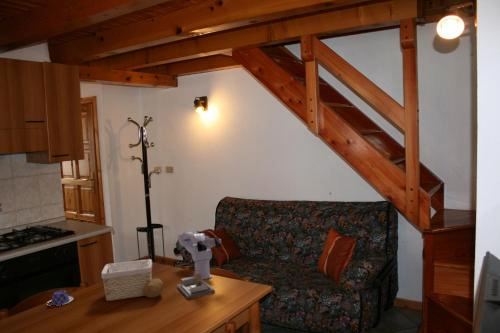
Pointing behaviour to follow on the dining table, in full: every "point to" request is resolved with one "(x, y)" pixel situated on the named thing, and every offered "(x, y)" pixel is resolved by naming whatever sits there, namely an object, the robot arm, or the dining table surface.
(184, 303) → the dining table surface
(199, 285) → the press handle
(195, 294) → the base
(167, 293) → the dining table surface
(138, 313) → the dining table surface
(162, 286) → the potato
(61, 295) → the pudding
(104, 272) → the storage basket
